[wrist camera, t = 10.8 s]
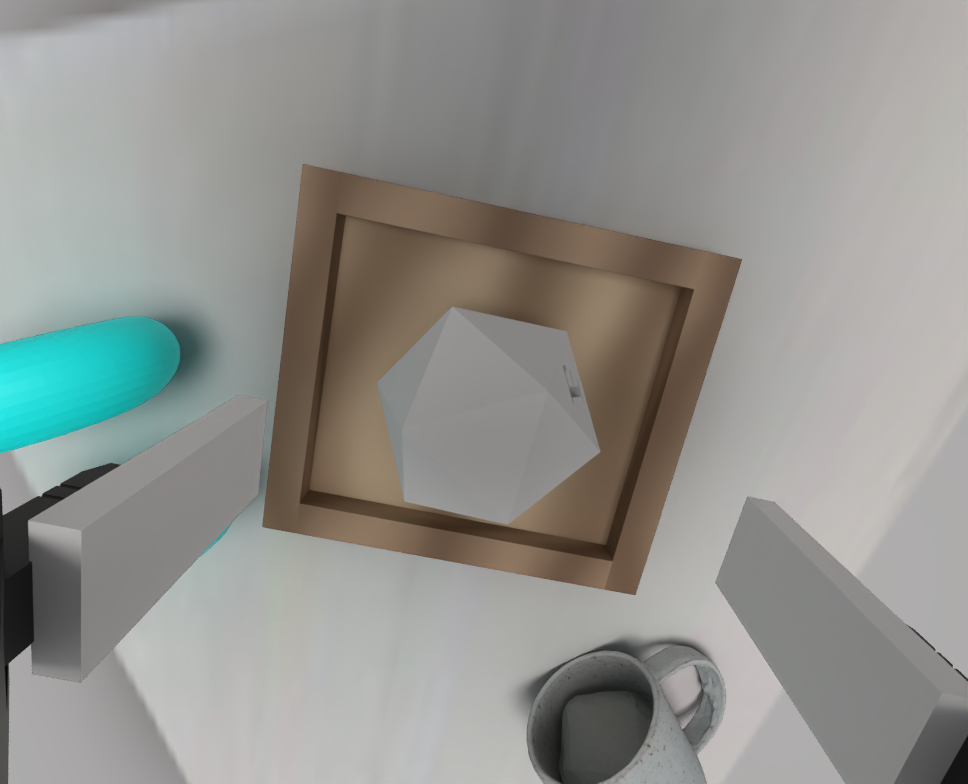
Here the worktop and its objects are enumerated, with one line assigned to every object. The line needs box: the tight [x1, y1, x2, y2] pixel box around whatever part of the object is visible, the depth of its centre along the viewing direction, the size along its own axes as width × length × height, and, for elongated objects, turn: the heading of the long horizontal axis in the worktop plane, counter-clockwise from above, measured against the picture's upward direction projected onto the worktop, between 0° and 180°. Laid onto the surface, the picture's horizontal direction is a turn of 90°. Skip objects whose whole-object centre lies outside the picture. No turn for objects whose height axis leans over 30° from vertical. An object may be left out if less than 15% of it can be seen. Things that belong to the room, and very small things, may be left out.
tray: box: [262, 164, 742, 595], centre depth 25 cm, size 19×17×2 cm
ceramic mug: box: [527, 645, 726, 784], centre depth 28 cm, size 10×8×7 cm
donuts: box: [0, 317, 231, 556], centre depth 22 cm, size 10×10×10 cm
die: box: [377, 306, 600, 525], centre depth 22 cm, size 8×9×10 cm
